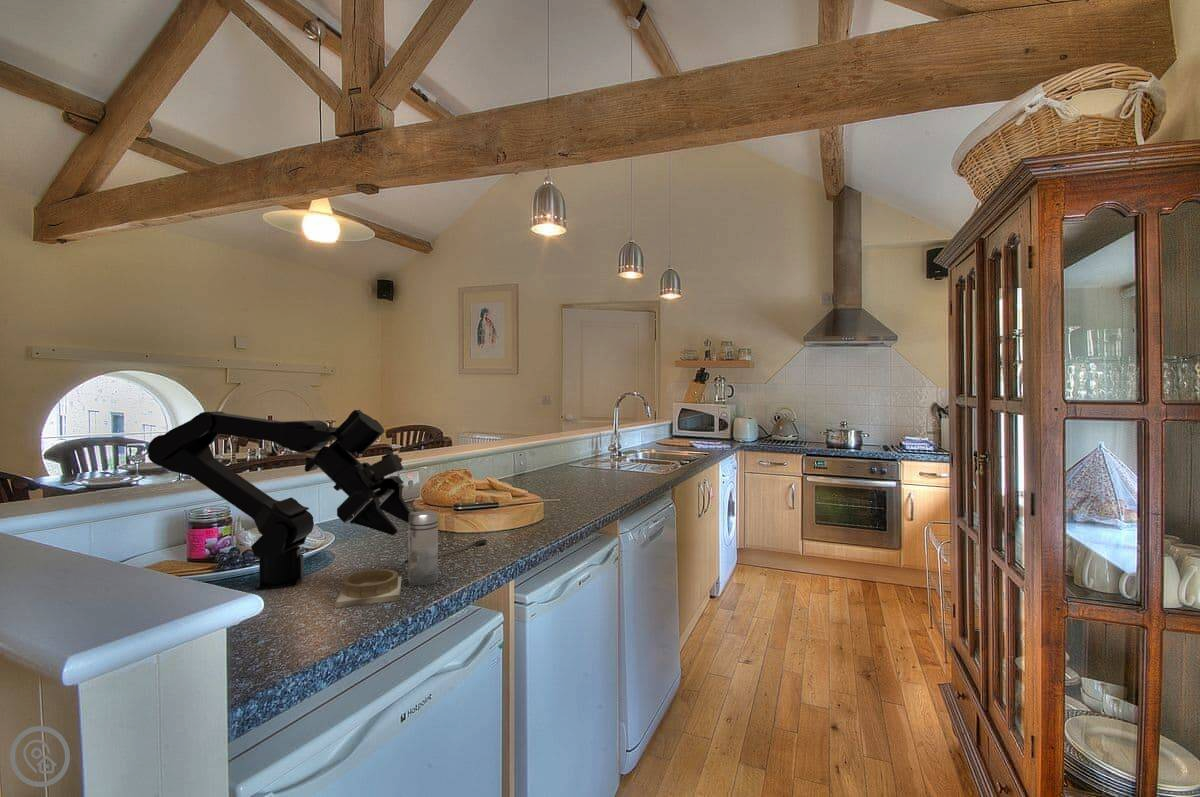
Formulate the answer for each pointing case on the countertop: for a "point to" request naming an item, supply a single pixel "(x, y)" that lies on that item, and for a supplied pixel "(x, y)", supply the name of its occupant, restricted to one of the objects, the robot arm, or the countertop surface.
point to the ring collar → (369, 588)
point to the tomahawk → (459, 548)
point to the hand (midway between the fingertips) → (404, 527)
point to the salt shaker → (423, 547)
